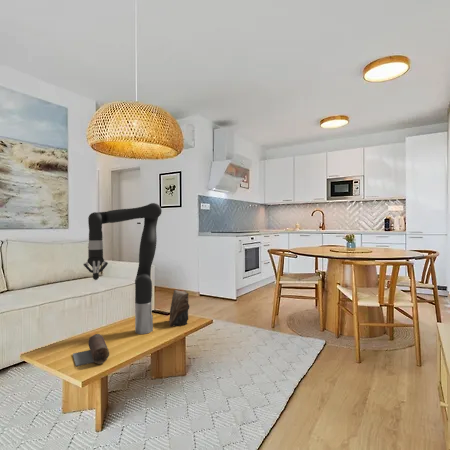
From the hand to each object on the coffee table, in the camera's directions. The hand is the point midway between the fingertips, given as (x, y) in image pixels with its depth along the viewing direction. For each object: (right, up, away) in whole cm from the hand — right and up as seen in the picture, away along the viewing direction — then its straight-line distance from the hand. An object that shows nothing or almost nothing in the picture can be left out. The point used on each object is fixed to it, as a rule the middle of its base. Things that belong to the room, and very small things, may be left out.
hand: (95, 279), depth 170 cm
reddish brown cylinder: (+6, -28, -15) cm, 32 cm away
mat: (+6, -32, -25) cm, 41 cm away
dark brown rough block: (+41, -32, +23) cm, 57 cm away
